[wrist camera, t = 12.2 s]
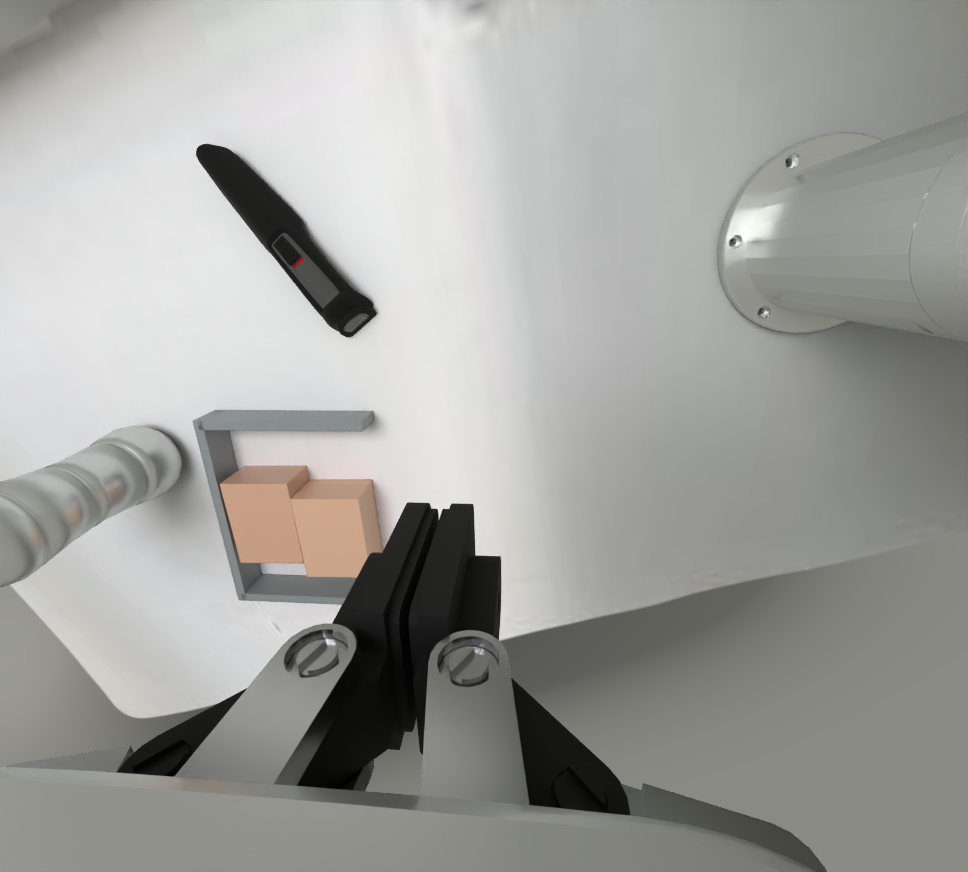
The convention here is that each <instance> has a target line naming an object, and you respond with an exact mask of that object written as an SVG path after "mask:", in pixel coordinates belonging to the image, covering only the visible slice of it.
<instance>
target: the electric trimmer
mask: <svg viewBox="0 0 968 872" xmlns="http://www.w3.org/2000/svg"><path fill="white" fill-rule="evenodd" d="M196 156H197V158H198V160H199V162H200V163H201V165H202V166H203V167H204V169H205V170H206V171H207V173H208V174H209V176H210V177H211V178H212V180H213V181H214V182H215V184H216V185H217V187H218V188H219V189H220V191H221V192H222V193H223V195H224V196H225V197H226V198H227V200H228V201H229V202H230V203H231V205H232V206H233V207H234V209H235V210H236V211H237V212H238V214H239V215H240V216H241V218H242V219H243V220H244V221H245V223H246V224H247V225H248V226H249V228H250V229H251V230H252V232H253V233H254V234H255V235H256V237H257V238H258V239H259V241H260V242H261V243H262V244H263V245H264V247H265V248H266V249H267V250H268V251H269V252H270V253H271V254H272V256H273V257H274V258H275V259H276V260H277V261H278V263H279V264H280V265H281V267H282V268H283V269H284V270H285V272H286V273H287V274H288V275H289V277H290V278H291V279H292V281H293V282H294V283H295V284H296V286H297V287H298V288H299V289H300V291H301V292H302V293H303V295H304V296H305V297H306V298H307V300H308V301H309V302H310V303H311V304H312V306H313V307H314V308H315V309H316V311H317V312H318V313H319V314H320V315H321V316H322V317H323V319H324V320H325V321H326V322H327V324H328V325H329V326H330V327H332V328H333V329H335V330H337V331H339V332H340V333H341V335H343V336H345V337H351V336H353V335H354V334H355V333H357V332H358V331H359V330H360V329H361V328H362V327H363V326H364V325H366V324H367V323H368V322H369V321H370V320H371V319H372V318H373V317H374V316H375V315H376V312H375V311H374V309H373V308H372V307H373V304H372V303H371V301H370V300H369V299H368V298H366V297H365V296H363V295H361V294H360V293H358V292H356V291H354V290H353V289H352V288H351V287H350V286H349V285H348V284H347V283H346V282H345V281H344V280H343V279H342V278H341V277H340V275H339V274H338V273H337V272H336V271H335V270H334V269H333V268H332V266H331V265H330V264H329V263H328V262H327V261H326V260H325V258H324V257H323V256H322V255H321V254H320V252H319V251H318V250H317V249H316V247H315V246H314V245H313V243H312V242H311V241H310V239H309V238H308V237H307V235H306V234H305V232H304V229H303V227H302V223H301V219H300V218H299V216H298V215H297V214H296V213H295V212H294V211H293V210H292V209H291V208H290V207H289V206H288V205H287V204H286V203H285V202H284V201H283V200H282V199H281V198H280V197H279V196H278V195H277V194H276V193H275V192H274V191H273V190H272V189H271V188H270V187H269V186H268V185H267V184H266V183H265V182H264V181H263V180H262V179H261V178H260V177H259V176H258V175H257V174H256V173H255V172H254V171H252V170H251V169H250V168H249V167H248V166H247V165H246V164H245V163H244V162H243V161H242V160H241V159H240V158H239V157H238V156H237V155H236V154H234V153H233V152H232V151H231V150H229V149H227V148H225V147H221V146H216V145H211V144H203V145H201V146H199V147H198V148H197V151H196Z"/></svg>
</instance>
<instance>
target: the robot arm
mask: <svg viewBox="0 0 968 872" xmlns="http://www.w3.org/2000/svg"><path fill="white" fill-rule="evenodd" d="M786 160H788V162H789V165H788V167H786V164H785V161H786ZM730 239H733V240H734V243H733V245H732V246H729V241H730ZM718 268H719V274H720V279H721V283H722V285H723V287H724V290H725V292H726V295H727V297H728V298H729V299H730V301H731V302H732V304H733V305H734V306H735V308H736V309H737V310H738V311H739V312H740V313H742V314H743V315H744V316H745V317H746V318H747V319H749V320H751V321H753V322H754V323H756V324H758V325H760V326H762V327H766V328H769V329H772V330H776V331H781V332H787V333H810V332H815V331H821V330H826V329H828V328H831V327H834V326H837V325H840V324H842V323H844V322H846V321H852V322H858V323H864V324H869V325H875V326H881V327H886V328H892V329H898V330H903V331H909V332H914V333H920V334H926V335H931V336H937V337H943V338H948V339H954V340H960V341H965V342H968V112H967V113H964V114H961V115H958V116H955V117H952V118H949V119H946V120H943V121H940V122H937V123H934V124H931V125H928V126H926V127H923V128H920V129H917V130H914V131H911V132H908V133H905V134H902V135H899V136H896V137H893V138H890V139H887V140H885V141H883V140H881V139H879V138H876V137H873V136H869V135H866V134H863V133H848V132H840V133H833V134H826V135H821V136H818V137H815V138H812V139H809V140H807V141H804V142H801V143H799V144H797V145H795V146H793V147H791V148H788V149H786V150H785V151H783V152H782V153H780V154H779V155H777V156H776V157H774V158H773V159H771V160H770V161H768V162H767V163H766V164H765V165H764V166H763V167H761V168H760V169H759V170H758V171H757V172H756V173H755V174H754V175H753V176H752V177H751V178H750V179H749V181H748V182H747V183H746V184H745V186H744V187H743V188H742V189H741V191H740V192H739V193H738V195H737V197H736V198H735V200H734V202H733V204H732V205H731V207H730V209H729V211H728V213H727V216H726V219H725V221H724V224H723V227H722V230H721V235H720V240H719V245H718ZM760 308H761V313H760V314H758V313H757V312H758V310H759V309H760ZM500 613H501V557H500V556H475V531H474V507H473V504H451V506H450V509H443V510H442V513H441V516H440V519H439V517H438V510H437V509H431V506H430V504H429V503H407V504H406V506H405V508H404V510H403V512H402V514H401V516H400V518H399V520H398V522H397V524H396V526H395V529H394V531H393V533H392V535H391V537H390V539H389V541H388V543H387V545H386V547H385V549H384V551H383V553H380V552H373V553H370V555H369V556H368V558H367V560H366V561H365V563H364V565H363V567H362V569H361V571H360V573H359V575H358V576H357V578H356V580H355V582H354V584H353V586H352V588H351V590H350V591H349V593H348V595H347V597H346V599H345V601H344V603H343V604H342V606H341V608H340V610H339V612H338V614H337V616H336V618H335V619H334V621H333V623H332V624H321V625H315V626H312V627H309V628H307V629H304V630H302V631H300V632H299V633H297V634H296V635H294V636H292V637H291V638H290V639H289V640H288V641H287V642H286V643H285V644H284V645H283V646H282V647H281V648H280V649H279V650H278V652H277V653H276V654H275V655H274V657H273V658H272V659H271V660H270V661H269V663H268V664H267V665H266V666H265V667H264V669H263V670H262V671H261V672H260V673H259V675H258V676H257V677H256V678H255V680H254V681H253V682H252V683H251V684H250V686H249V687H248V688H246V689H245V690H243V691H241V692H239V693H237V694H235V695H233V696H231V697H230V698H228V699H226V700H224V701H222V702H220V703H218V704H216V705H215V706H213V707H211V708H209V709H207V710H205V711H203V712H201V713H200V714H198V715H196V716H194V717H192V718H191V719H189V720H186V721H185V722H183V723H181V724H179V725H177V726H175V727H174V728H171V729H170V730H168V731H166V732H164V733H162V734H160V735H158V736H157V737H155V738H154V739H152V740H150V741H149V742H147V743H146V744H144V745H143V746H141V747H140V748H139V749H138V750H137V751H136V752H133V750H132V747H131V746H126V747H120V748H114V749H107V750H101V751H94V752H88V753H81V754H75V755H68V756H62V757H56V758H49V759H43V760H36V761H30V762H24V763H17V764H13V765H9V766H6V767H0V872H827V871H826V869H825V867H824V866H823V865H822V864H821V862H820V861H819V859H818V858H817V857H816V856H815V854H814V853H813V852H812V851H811V849H810V848H809V847H808V846H806V845H805V844H804V843H803V842H802V841H800V840H799V839H798V838H797V837H796V836H794V835H793V834H792V833H791V832H789V831H787V830H785V829H783V828H781V827H778V826H776V825H774V824H772V823H770V822H766V821H763V820H760V819H757V818H754V817H750V816H747V815H744V814H741V813H738V812H734V811H731V810H728V809H725V808H721V807H718V806H715V805H712V804H709V803H705V802H702V801H699V800H696V799H693V798H689V797H686V796H683V795H680V794H676V793H673V792H670V791H667V790H664V789H660V788H657V787H654V786H651V785H648V784H644V783H643V786H642V790H639V789H636V788H633V787H630V786H627V785H624V784H621V783H620V781H619V780H618V779H617V777H616V776H615V775H614V774H613V773H612V771H611V770H610V769H609V768H608V767H607V766H606V765H605V764H604V763H603V762H602V761H601V760H600V759H599V758H597V757H596V756H595V755H594V754H593V753H592V752H591V751H590V750H589V749H588V748H587V747H586V746H584V745H583V744H582V743H581V742H580V741H579V740H578V739H577V738H576V737H575V736H574V735H573V734H571V733H570V732H569V731H568V730H567V729H566V728H565V727H564V726H563V725H562V724H561V723H560V722H559V721H557V720H556V719H555V718H554V717H553V716H552V715H551V714H550V713H549V712H548V711H547V710H545V709H544V708H543V707H542V706H541V705H540V704H539V703H538V702H537V701H536V700H535V699H534V698H533V697H531V696H530V695H529V694H528V693H527V692H526V691H525V690H524V689H523V688H522V687H520V685H518V684H517V683H516V682H515V681H514V680H513V679H512V678H511V674H510V666H509V660H508V655H507V652H506V650H505V647H504V646H503V645H502V644H501V642H500V641H499V629H500ZM416 717H417V725H418V735H419V746H420V752H421V753H422V755H423V763H422V780H421V796H415V795H403V794H391V793H378V792H366V791H365V790H366V788H367V786H368V784H369V781H370V779H371V776H372V773H373V769H374V759H375V758H376V757H378V756H379V755H380V754H382V753H383V752H384V751H386V750H387V749H394V750H400V746H401V743H402V738H403V735H404V731H405V732H412V731H413V729H414V725H415V721H416Z"/></svg>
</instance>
